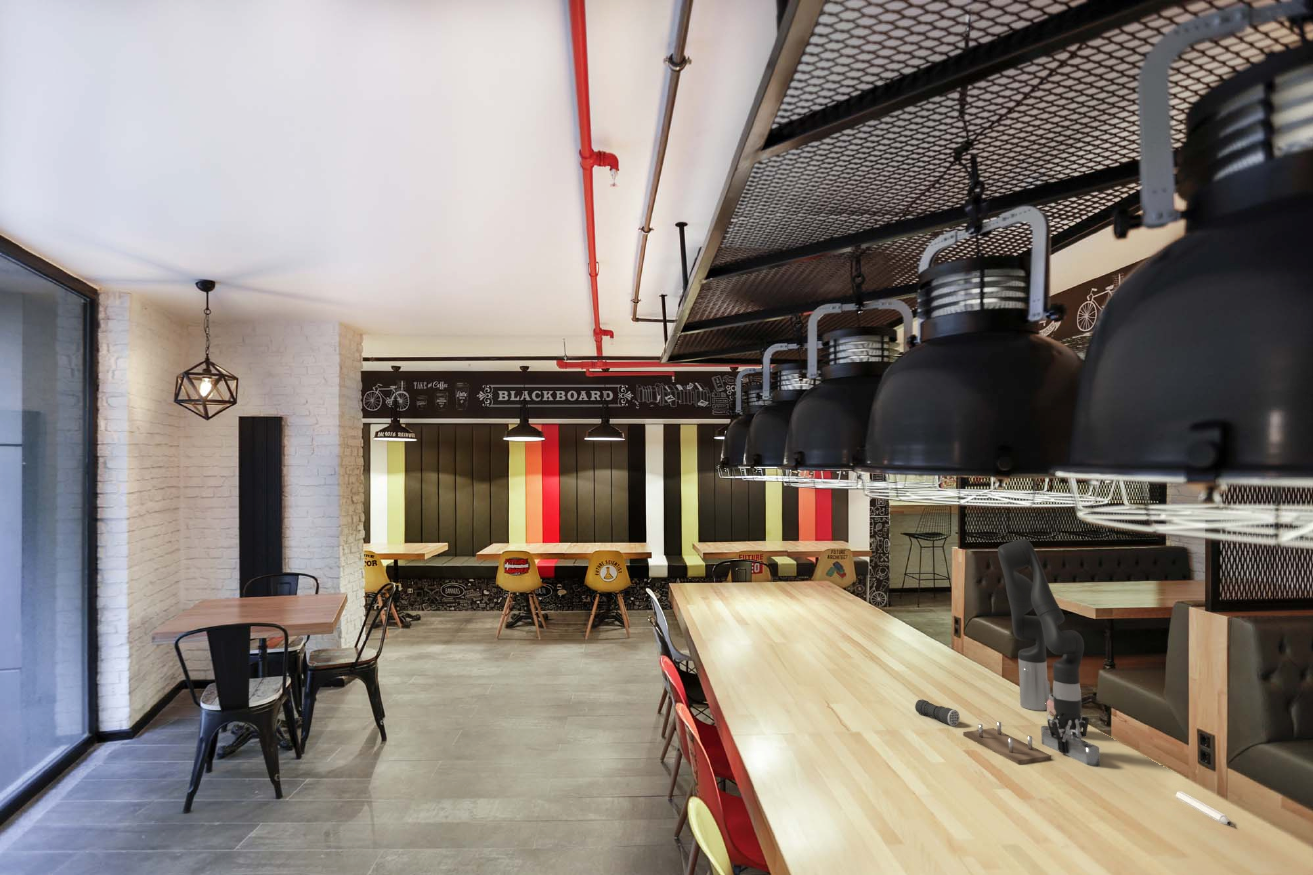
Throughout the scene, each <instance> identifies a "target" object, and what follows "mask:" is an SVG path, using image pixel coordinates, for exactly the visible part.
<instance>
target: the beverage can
mask: <svg viewBox="0 0 1313 875" xmlns="http://www.w3.org/2000/svg"><path fill="white" fill-rule="evenodd" d="M1046 715H1047V716H1046V717H1047V718H1046V720H1048V719H1050V720H1052V719H1055V716H1056V711H1055V709H1054V700H1053V693H1050V695H1049V700H1048V701H1047V710H1046ZM1061 729H1062V728H1061ZM1062 730H1063V731H1064V729H1062ZM1069 734H1070V735H1072V733H1071V731H1070V730H1069Z"/></svg>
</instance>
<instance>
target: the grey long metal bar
mask: <svg viewBox="0 0 1313 875" xmlns="http://www.w3.org/2000/svg"><path fill="white" fill-rule="evenodd" d="M1040 732H1041V744H1042V745H1043V746H1046V747H1048V748H1049V749H1052V750H1054V751H1056V752H1059V750H1058V740H1057V739H1055V738H1052V737H1051V733H1050V729H1049V726H1048V725H1043V726H1041V727H1040ZM1061 737H1062V733H1061ZM1065 742H1066V751H1067V753H1066V754H1064V755H1065V756H1067V757H1069V758H1072V759H1074V760H1075V761H1078V762H1080V763H1082V764H1084V765H1087V766H1089V767H1095V768H1098V767H1100V766H1101V760H1100V758H1101V757H1100V746H1098V745H1095V744H1093V743H1091V742H1088V741H1086V740H1083V739H1079V738H1077V737H1074V736H1072V735H1070V734H1068V735H1067V736H1066V741H1065ZM1059 753H1060V754H1062V753H1061V752H1059Z"/></svg>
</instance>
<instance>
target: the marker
mask: <svg viewBox="0 0 1313 875" xmlns="http://www.w3.org/2000/svg"><path fill="white" fill-rule="evenodd" d="M1175 797H1176V799H1177V800H1179V801H1181V803H1182V802H1183V803H1184V804H1186V805H1188V806H1189V807H1191V808H1193V809H1194V810H1197V811H1198V812H1200V813H1201V814H1204V815H1205V816H1207V817H1209V818H1210V819H1213V820H1215V821H1216V822H1218V823H1220V824H1223V825H1226V826H1227V825H1228V826H1232V827H1233V826H1234V824H1232V823H1231V821H1230V820H1229V819H1228V817H1227V815H1226V814H1224V813H1222V812H1220V811H1219V810H1217V809H1215V808H1213V807H1211V806H1209V805H1208V804H1205V803H1204V802H1203V801H1201V800H1198V799H1197V798H1195V797H1194V796H1191V795H1189V794H1188V793H1185V792H1184V791H1182V790H1181V791H1180V790H1179V791H1177V792H1176V794H1175Z"/></svg>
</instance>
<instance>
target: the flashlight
mask: <svg viewBox="0 0 1313 875" xmlns="http://www.w3.org/2000/svg"><path fill="white" fill-rule="evenodd" d="M914 707H915V711H916V712H917V714H919V715H922V716H928V717H931V718H934V719H936V720H938V721H940V722H943V723H944V724H946V725H948V726H950V727H955V726H957V725H959V721H960V713H959V711H958V710H956V709H954V708H950V707H946V706H942V705H936V704H934V703H931V702H929V700H925V699H918V700H917V701H915V706H914Z"/></svg>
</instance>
